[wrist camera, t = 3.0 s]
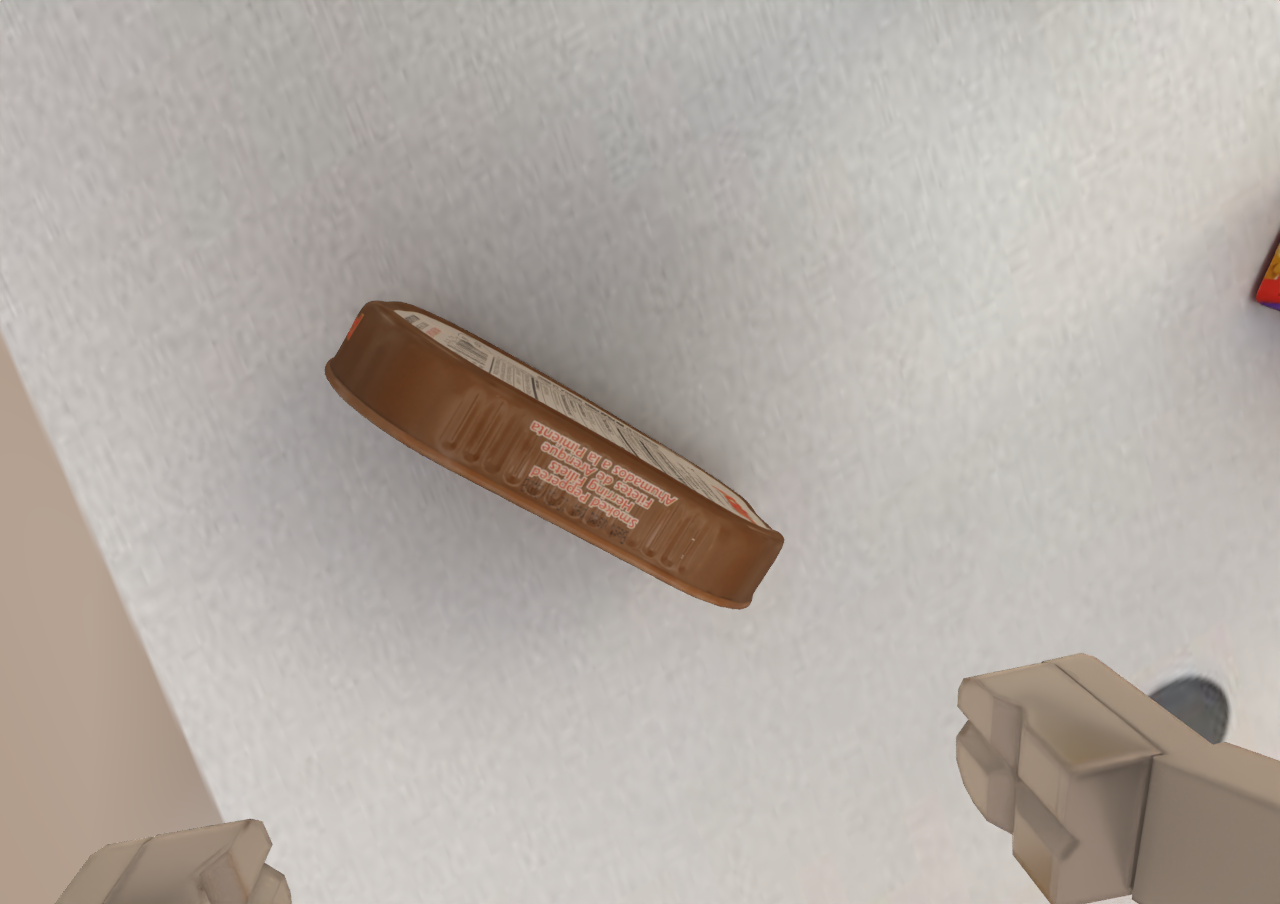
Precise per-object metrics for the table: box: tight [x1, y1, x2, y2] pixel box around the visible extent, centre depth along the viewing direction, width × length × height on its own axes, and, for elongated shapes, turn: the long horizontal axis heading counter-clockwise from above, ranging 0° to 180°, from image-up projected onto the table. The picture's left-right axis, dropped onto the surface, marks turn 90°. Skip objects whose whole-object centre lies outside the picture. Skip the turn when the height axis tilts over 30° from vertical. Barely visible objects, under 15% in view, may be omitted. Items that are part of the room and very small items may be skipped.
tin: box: [325, 301, 784, 609], centre depth 21 cm, size 15×3×8 cm, turn 57°
